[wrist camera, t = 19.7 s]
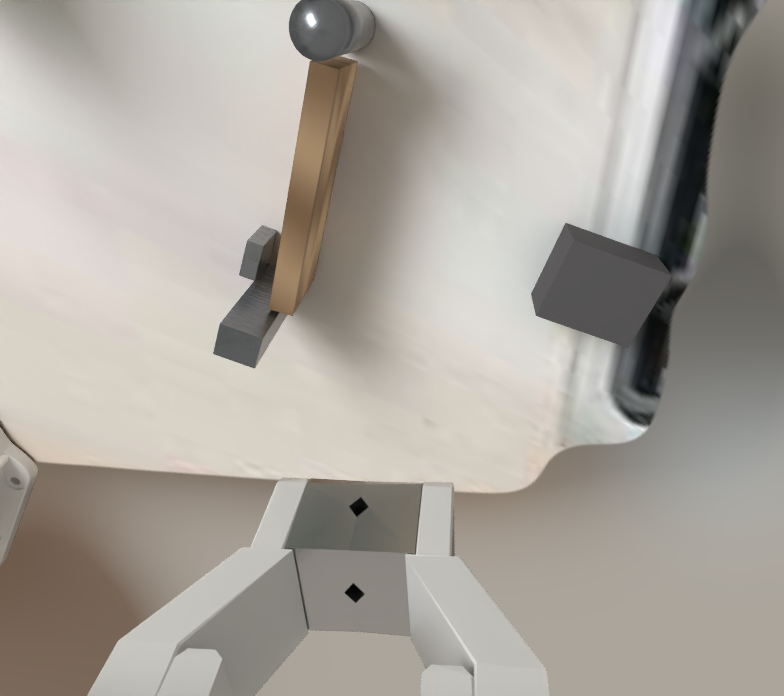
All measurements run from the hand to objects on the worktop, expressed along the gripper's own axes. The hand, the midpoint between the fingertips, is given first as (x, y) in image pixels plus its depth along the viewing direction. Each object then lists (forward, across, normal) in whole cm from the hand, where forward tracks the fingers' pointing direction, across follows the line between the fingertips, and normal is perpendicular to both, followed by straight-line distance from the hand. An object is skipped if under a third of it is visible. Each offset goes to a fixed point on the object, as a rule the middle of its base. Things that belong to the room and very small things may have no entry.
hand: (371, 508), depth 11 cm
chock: (+29, -9, +8) cm, 32 cm away
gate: (+29, +7, +1) cm, 29 cm away
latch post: (+29, +11, +6) cm, 32 cm away
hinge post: (+29, +4, -7) cm, 30 cm away
